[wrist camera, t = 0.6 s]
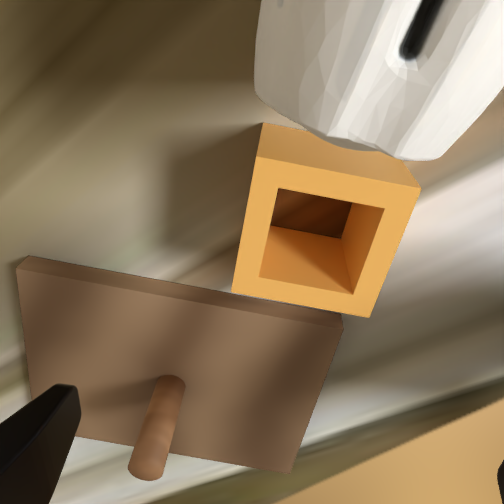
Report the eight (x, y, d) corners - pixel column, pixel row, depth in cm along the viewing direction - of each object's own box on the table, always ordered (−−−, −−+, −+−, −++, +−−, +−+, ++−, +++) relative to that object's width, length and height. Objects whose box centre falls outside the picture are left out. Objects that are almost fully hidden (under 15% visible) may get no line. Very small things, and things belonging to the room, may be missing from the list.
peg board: (340, 314, 22) (357, 414, 17) (289, 456, 28) (289, 563, 23) (28, 255, 22) (-57, 339, 16) (44, 413, 28) (-14, 511, 22)
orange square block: (393, 148, 18) (421, 188, 14) (354, 259, 20) (369, 317, 17) (263, 122, 18) (256, 156, 14) (241, 237, 20) (230, 292, 16)
